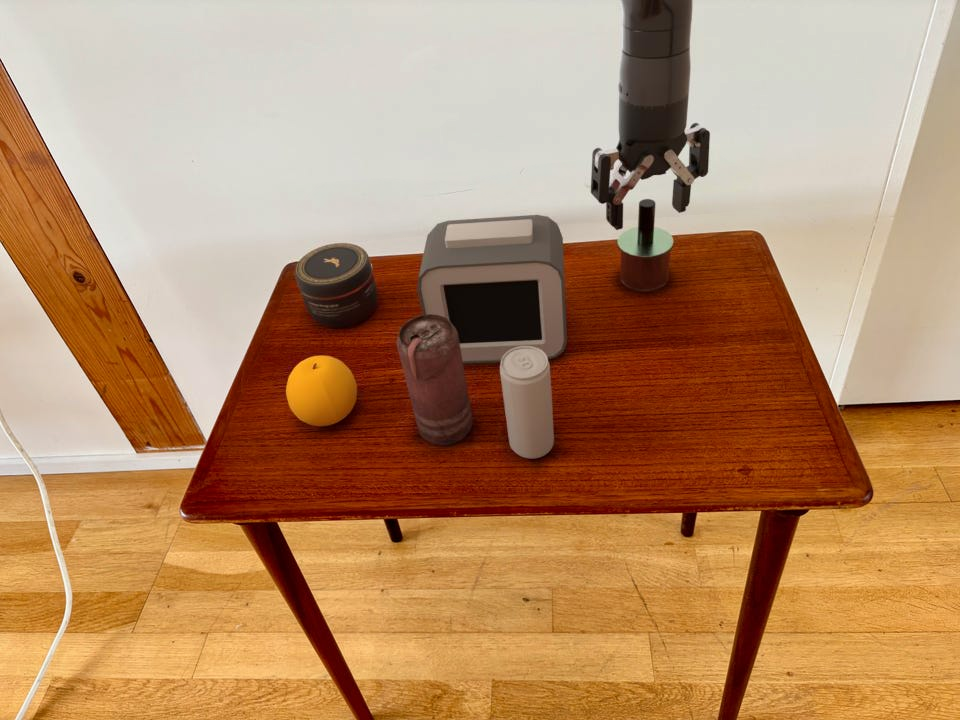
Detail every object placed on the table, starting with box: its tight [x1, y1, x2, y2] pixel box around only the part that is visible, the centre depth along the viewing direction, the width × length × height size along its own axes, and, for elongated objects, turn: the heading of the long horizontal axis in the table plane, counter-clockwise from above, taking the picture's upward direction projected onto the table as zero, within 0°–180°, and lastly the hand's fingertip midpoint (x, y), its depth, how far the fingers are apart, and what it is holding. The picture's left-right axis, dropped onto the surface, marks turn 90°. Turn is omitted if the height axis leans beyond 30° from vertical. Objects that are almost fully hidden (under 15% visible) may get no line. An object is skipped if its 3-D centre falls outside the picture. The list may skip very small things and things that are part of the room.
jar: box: [294, 242, 378, 329], centre depth 95 cm, size 10×10×8 cm
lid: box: [617, 198, 674, 260], centre depth 89 cm, size 7×7×7 cm
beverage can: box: [499, 346, 555, 460], centre depth 72 cm, size 5×5×12 cm
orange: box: [285, 355, 358, 427], centre depth 80 cm, size 8×8×8 cm
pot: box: [619, 250, 672, 293], centre depth 93 cm, size 6×6×5 cm
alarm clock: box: [416, 214, 568, 365], centre depth 85 cm, size 16×11×16 cm
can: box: [396, 314, 474, 447], centre depth 74 cm, size 6×6×14 cm
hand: (647, 217), depth 89 cm, fingers open, 8 cm apart
